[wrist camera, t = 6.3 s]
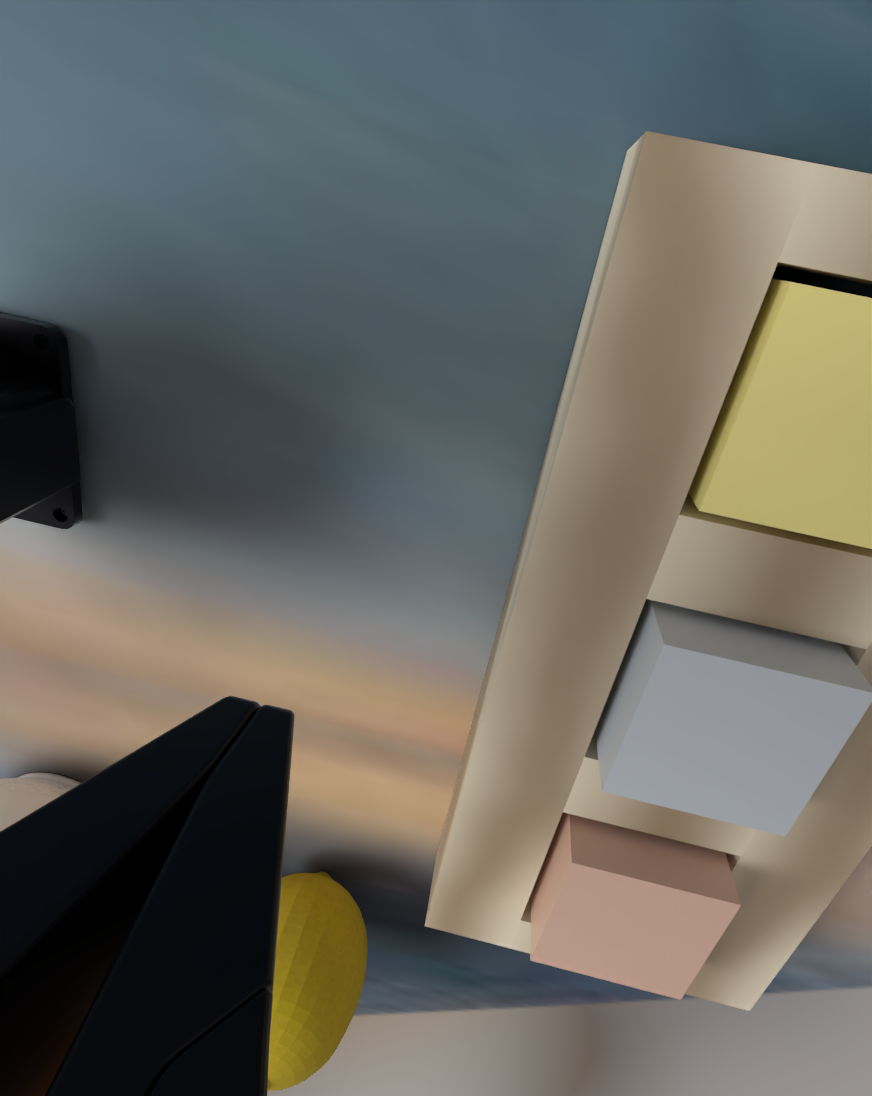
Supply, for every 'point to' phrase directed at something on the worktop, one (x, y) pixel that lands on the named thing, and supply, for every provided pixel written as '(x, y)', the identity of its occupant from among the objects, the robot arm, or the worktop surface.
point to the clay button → (629, 905)
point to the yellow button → (797, 420)
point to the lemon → (313, 975)
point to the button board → (663, 555)
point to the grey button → (726, 717)
